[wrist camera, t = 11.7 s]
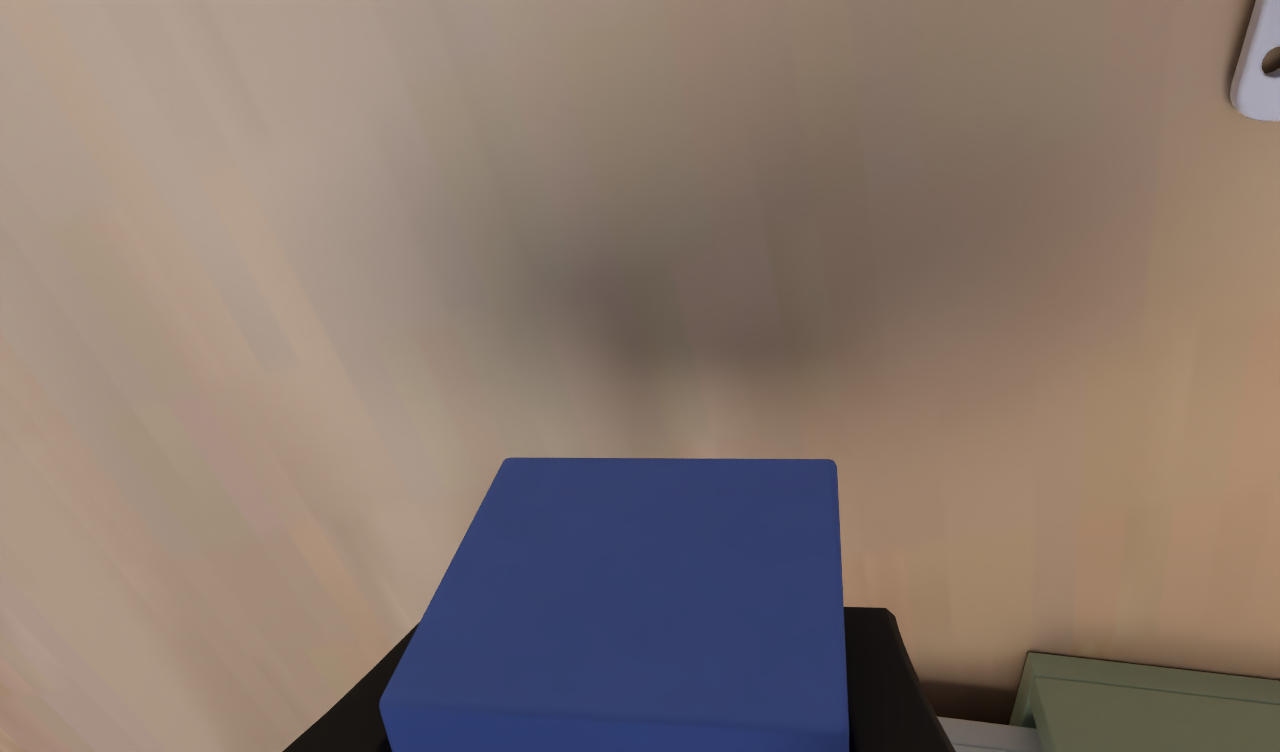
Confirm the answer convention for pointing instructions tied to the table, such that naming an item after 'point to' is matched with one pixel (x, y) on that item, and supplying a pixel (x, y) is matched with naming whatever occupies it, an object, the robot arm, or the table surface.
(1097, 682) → the drawer cabinet
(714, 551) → the blue rounded cube
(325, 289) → the table surface
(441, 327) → the table surface
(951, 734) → the grey drawer
